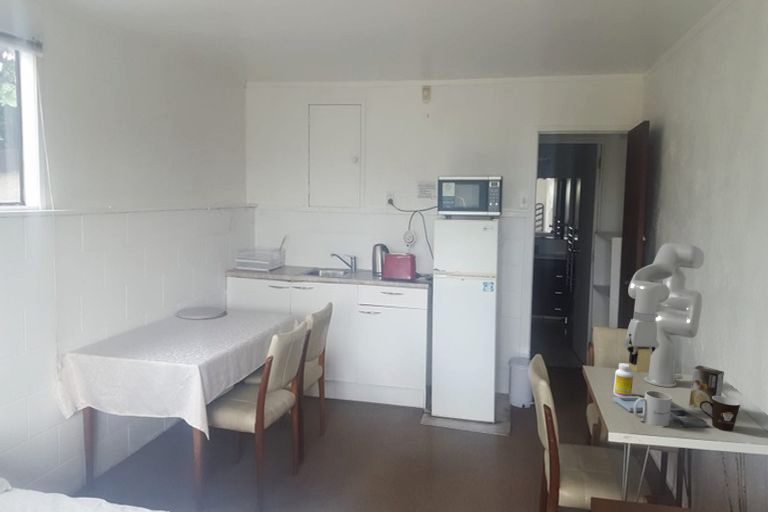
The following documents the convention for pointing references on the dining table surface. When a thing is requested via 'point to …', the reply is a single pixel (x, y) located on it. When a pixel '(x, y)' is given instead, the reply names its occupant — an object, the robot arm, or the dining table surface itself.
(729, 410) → the coffee mug
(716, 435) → the dining table surface
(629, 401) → the parts tray
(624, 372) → the supplement bottle
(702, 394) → the coffee box
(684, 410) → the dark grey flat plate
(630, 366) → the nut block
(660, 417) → the mug
